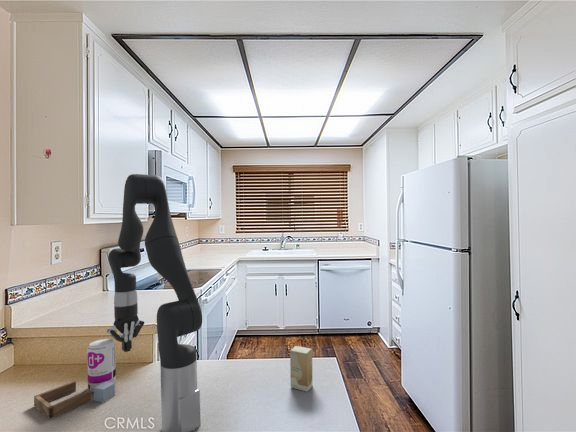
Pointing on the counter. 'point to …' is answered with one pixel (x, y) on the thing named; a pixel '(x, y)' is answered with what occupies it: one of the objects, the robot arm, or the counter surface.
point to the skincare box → (301, 368)
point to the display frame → (65, 405)
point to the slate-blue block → (104, 391)
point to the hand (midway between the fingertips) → (127, 351)
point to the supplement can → (101, 363)
